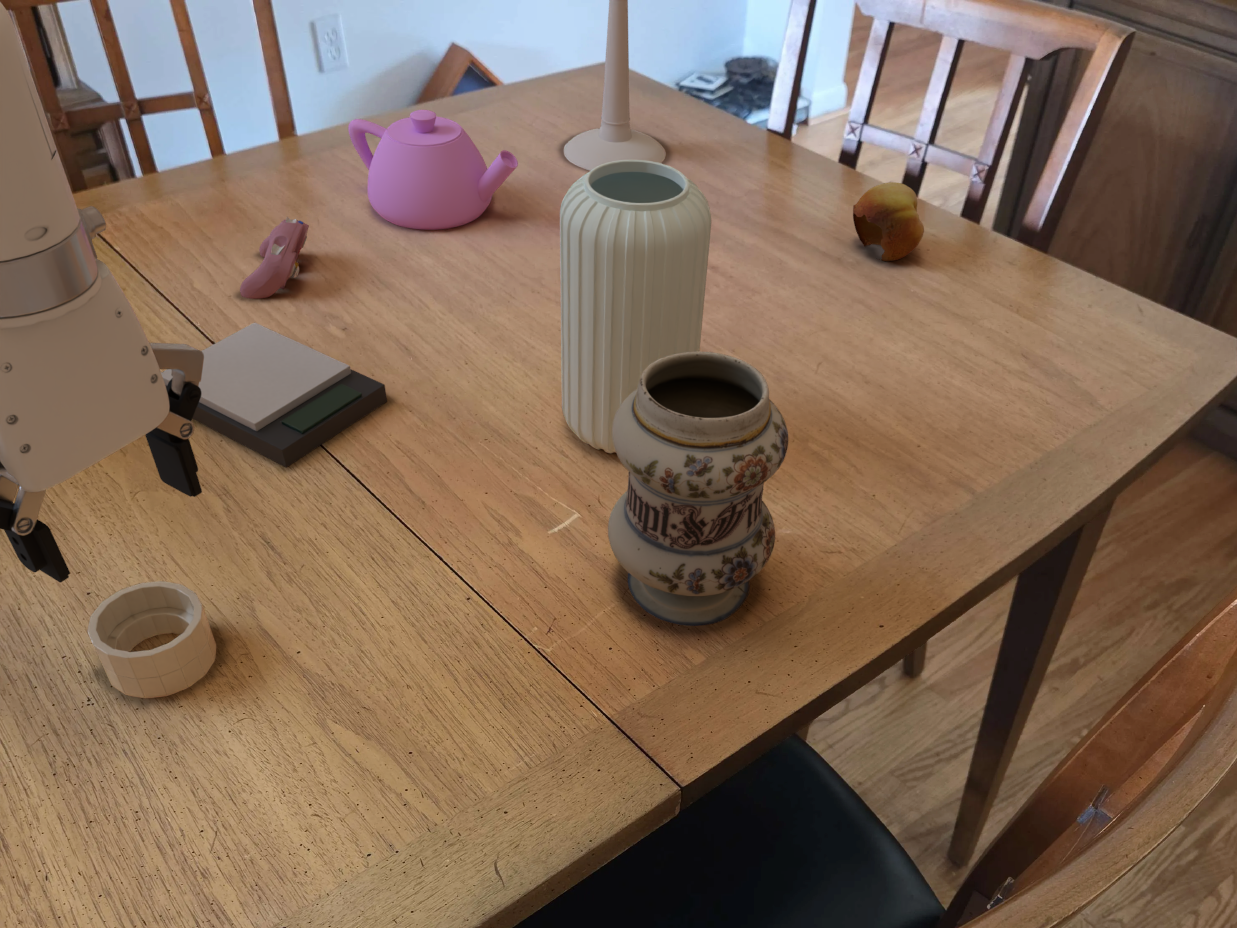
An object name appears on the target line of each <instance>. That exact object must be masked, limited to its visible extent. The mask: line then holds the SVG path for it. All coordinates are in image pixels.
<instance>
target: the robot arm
mask: <svg viewBox="0 0 1237 928" xmlns="http://www.w3.org/2000/svg"><path fill="white" fill-rule="evenodd" d="M106 229H107V223H106V221H105V218H104V216H103V214H102V213H101V212H100V211H99V209H98V208H97V207H95V206H93V205H90V206H87V207H85V208H79V207H78V206H77V204H76V201H75V197H74V195H73V192H72V189H71V186H70V183H69V180H68V177H67V174H66V171H65V169H64V166H63V163H62V160H61V157H60V155H59V151H58V148H57V145H56V142H55V140H54V137H53V134H52V131H51V128H50V125H49V123H48V120H47V116H46V113H45V111H44V107H43V104H42V102H41V100H40V95H39V93H38V90H37V87H36V84H35V81H34V79H33V75H32V72H31V69H30V66H29V64H28V61H27V58H26V55H25V52H24V49H23V46H22V44H21V40H20V38H19V35H18V31H17V29H16V27H15V24H14V22H13V20H12V17H11V16H10V14H9V12H8V10H7V8H6V7H5V6H4V5H3V3H2V2H1V1H0V530H3V531H4V533H5V535H6V537H7V538H8V541H9V542H10V545H11V547H12V548H13V551H14V553H15V555H16V557H17V559H18V560H19V561H20V563H21V564H22V565H23V566H24V567H25V569H27V570H29V571H30V572H32V573H35V574H36V573H37V572H42V573H44V574H45V575H47V576H48V577H50V578H52V579H53V580H55V581H56V582H58V583H63V582H64V581H66V580H68V579H69V577H70V574H71V571H70V569H69V567H68V565H67V563H66V560H65V558H64V556H63V554H62V551H61V549H60V547H59V546H58V543H57V541H56V539H55V536H54V534H53V532H52V530H51V529H50V526H48V525H47V523H44V522H43V521H41V520H39V519H38V517H39V514H40V511H41V508H42V504H43V502H44V498H45V495H46V492H47V490H49V489H52V488H54V487H56V486H58V485H60V484H62V483H64V482H66V481H67V480H69V479H72V478H73V477H75V476H76V475H78V474H79V473H82V472H83V471H85V470H87V469H89V468H90V467H92V466H94V465H96V464H97V463H99V462H101V461H102V460H104V459H106V458H108V457H110V456H112V455H113V454H114V453H116V452H119V451H120V450H122V449H123V448H125V447H126V446H129V445H131V444H132V443H134V442H135V441H137V440H139V439H141V438H142V437H144V436H145V439H146V441H147V444H148V447H149V450H150V453H151V456H152V458H153V461H154V465H155V467H156V470H157V473H158V475H159V478H160V480H161V481H162V483H164V484H166V485H168V486H169V487H171V488H173V489H175V490H177V491H178V492H181V493H182V494H184V495H185V496H188V497H189V498H191V497H193V498H196V497H197V496H199V495H200V494H202V493H203V490H202V486H201V482H200V480H199V477H198V472H199V466H198V463H197V460H196V456H195V454H194V450H193V448H192V444H191V441H190V438H192V437H193V435H194V433H195V429H196V428H195V424H194V422H192V420H193V419H192V418H193V415H194V413H195V410H196V408H197V405H198V403H199V401H200V398H201V389H200V388H199V387H198V386H199V382H201V377H202V369H203V362H204V354H203V352H202V350H200V349H198V348H196V347H193V346H191V345H189V344H187V343H170V342H169V343H168V342H150V341H149V339H148V337H147V334H146V332H145V330H144V327H143V326H142V324H141V322H140V320H139V318H138V315H137V314H136V311H135V310H134V308H133V306H132V304H131V302H130V301H129V298H127V296H126V294H125V292H124V290H123V289H122V287H121V286H120V284H119V282H118V280H117V279H116V277H115V275H114V274H113V272H112V271H111V269H110V267H109V266H108V265H107V264H106V263H105V262H103V261H102V260H100V259H98V255H97V252H96V249H95V246H94V244H93V239H95V238H96V237H97V234H100V233H103V232H104V231H106ZM167 369H172V373H171V375H172V376H173V378H172V379H171V380H170V381H169V383H168V385H167V387H166V386H165V383H164V380H163V377H162V374H161V372H162V371H161V370H167Z"/></svg>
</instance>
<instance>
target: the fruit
mask: <svg viewBox="0 0 1237 928" xmlns="http://www.w3.org/2000/svg"><path fill="white" fill-rule="evenodd" d="M852 220H853V224H854V229H855V231H856V234H857V236H858V239H859V241H860V242H861V244H862V245H863V246H864V247H866V246H872V245H879V246H880V247H881V248H882V249H883V251H884V252H883V253H882V255H881V259H880V258H876V257H875V259H876V260H878V261H883V262H892V261H898V260H901V259H903V258H906V256H908V255H909V254H911V253H912V252H913V251H915V249H916V248H917V247H918V246H919V244H920V242H921V241H922V238H923V236H924V232H925V225H924V224H923V222H922V220H921V219H920V216H919V214H918V197H917V193H916V192H915V191H914V189H912V188H911V187H909V186H908V185H906V184H904V183H902V182H894V181H889V182H883V183H880V184H877V185H874V186H873V187H871V188H869V189H868V190H867V191H865V192H864V194H862V195H861V197H859V199H858V201H857V202H856V203H855V204H853V207H852Z"/></svg>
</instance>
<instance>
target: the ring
mask: <svg viewBox="0 0 1237 928" xmlns="http://www.w3.org/2000/svg"><path fill="white" fill-rule="evenodd" d="M166 634H167V635H168V634H175V635H178V636H176V637H175V638H174V639H172V640H171V641H169V642H168V643H165V644H162V645H159V646H157V647H155V648H151V649H147V650H138V651H137V650H136V651H132V650H133V649H134V648H135V647H136V646H137V645H139V644H140V643H142V642H143V641H145V640H147V639H150V638H153V637H156V636H159V635H166ZM87 635H88V638H89V640H90V642H91V644H92V646H93V648H94V650H95V653H96V655H97V657H98V659H99V661H100V664H101V665H102V668H103V670H104V672H105V674H106V676H107V679H108V681H109V683H110V685H111V686H112V687H113V688H115V690H117V691H119V692H120V693H122V694H123V695H125V696H130V697H134V698H140V699H155V698H162V697H163V698H164V697H167V696H168V697H169V696H171V695H174V694H177V693H179V692H181V691H184V690H187V689H189V688H190V687H191V686H193V685H194V684H196V683H197V682H199V681H200V680H202V678H204V677H205V676H206V675H207V673H208V672H209V671H210V669H211V667H212V666H213V664H214V663H215V661H216V654H217V643H216V641H215V640H216V639H215V638H214V634H213V632H212V628H211V626H210V623H209V620H208V617H207V614H206V611H205V608H204V605H203V603H202V601H201V599H200V598H199V596H198V594H197V593H196V592H195V591H193V590H192V589H190V588H189V587H187V586H185V585H183V584H181V583H178V582H177V583H176V582H171V581H166V580H157V581H145V582H138V583H136V584H133V585H130V586H128V587H125V588H121V589H119V590H118V591H116V592H115V593H113V594H111V595H110V596H108V597H107V598H105V599H104V600H102V601H101V603H100V604H99V605H98V606H97V607H96V609H94V611H93V612H92V613H91V614H90V617H89V621H88V627H87Z"/></svg>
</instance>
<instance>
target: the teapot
mask: <svg viewBox="0 0 1237 928" xmlns="http://www.w3.org/2000/svg"><path fill="white" fill-rule="evenodd" d="M347 130H348V134H349V138H350V141H351V144H352V145H353V148H354V149H355V151H356V153H357V154H358V156H359V158H360V159H361V161H362V162H363V164H364V166H365V168H367V170H368V176H367V198H368V201H369V203H370V205H371V207H372V208H373V210H374V211H375V212H376V213H377V214H378V216H380V217H381V218H383V219H384V220H385V221H387V222H389V223H391V224H393V225H396V226H398V227H402V228H407V229H413V230H421V231H423V230H424V231H437V230H438V231H439V230H448V229H453V228H458V227H460V226H464V225H467V224H469V223H471V222H473V221H476V220H477V219H478V218H479V217H481V216H482V215H483V214H484V212H485V211H486V210H487V208H488V207H489V205H490V203H491V202H492V198H493V195H494V193H495V192H496V191H497V190H498V189H499V188H500V187H501V186H502V184H504V182H505V181H506V180H507V179H508V178H509V177H510V176H511V174H513V172H514V171H515V170H516V169H517V168H518V166H519V161H518V159H517V157H516V156H515V155H514V154H513V153H512V152H510V151H509V150H506V149H503V150H501V151H500V152H499V153H498V155H497V156H496V157H495V159H493V161H492V163H491V164H490V165H489V166H487V164H486V162H485V159H484V157H483V156H482V154H481V152H480V150H479V149H478V147H477V146H476V144H475V143H474V141H473V139H471V136H469V134H468V133H467V132H466V130H465V129H464V128H463V127H462V125H460V124H459V123H458V122H456V121H455V120H452V119H450V118H447V117H443V116H437V113H436V112H434V111H433V110H429V109H416V110H414V111H412V112H410V113H409V116H408V117H404V118H401V119H397V120H396V121H394V122H392V123H390V125H389V126H388V127H387V128H386V127H384V126H382V125H380V124H378V123H375V122H373V121H370V120H366V119H363V118H355V119H352V120H351V121H350V122H349V123H348V128H347ZM366 134H370V135H372V136H375V137H377V138H380V140H379V141H378V144H377V147H376V149H375V151H374V153H372V151H371V149H370V146H369V143H368V140H367V138H366Z"/></svg>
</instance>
